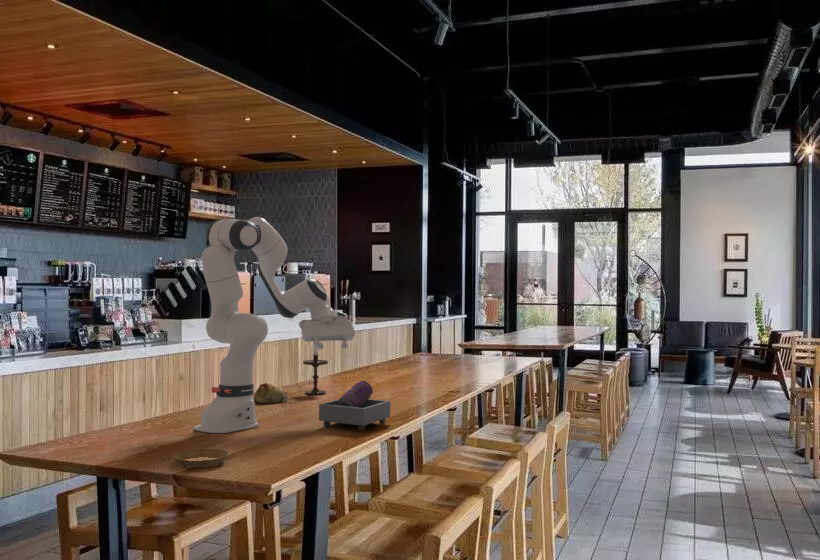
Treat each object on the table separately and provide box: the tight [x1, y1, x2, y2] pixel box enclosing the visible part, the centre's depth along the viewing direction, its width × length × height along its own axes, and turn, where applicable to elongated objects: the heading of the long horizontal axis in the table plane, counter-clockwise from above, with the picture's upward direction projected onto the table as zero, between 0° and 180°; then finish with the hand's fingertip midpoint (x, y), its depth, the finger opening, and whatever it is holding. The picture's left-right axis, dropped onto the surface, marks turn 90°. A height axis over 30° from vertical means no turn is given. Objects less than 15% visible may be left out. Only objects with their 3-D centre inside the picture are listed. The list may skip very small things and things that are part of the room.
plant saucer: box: [173, 448, 229, 468], centre depth 207 cm, size 15×15×3 cm
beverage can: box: [338, 380, 374, 408], centre depth 263 cm, size 7×7×12 cm
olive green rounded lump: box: [253, 382, 289, 404], centre depth 309 cm, size 14×12×8 cm
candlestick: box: [302, 343, 329, 396], centre depth 329 cm, size 11×11×35 cm
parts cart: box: [318, 398, 391, 432], centre depth 260 cm, size 18×18×8 cm
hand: (333, 347), depth 274 cm, fingers open, 8 cm apart
